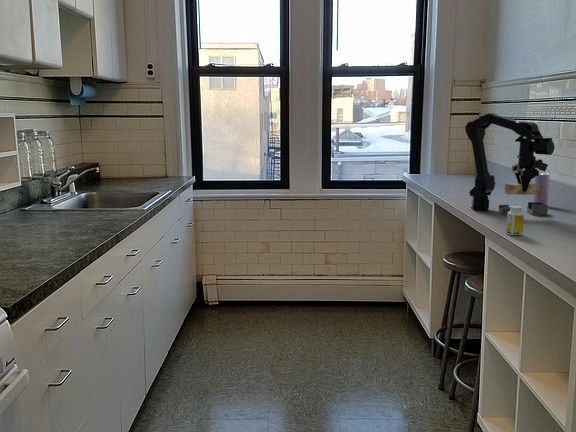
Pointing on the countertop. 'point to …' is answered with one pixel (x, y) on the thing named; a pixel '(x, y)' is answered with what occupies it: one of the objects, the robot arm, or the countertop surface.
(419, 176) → the countertop surface
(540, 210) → the bracket
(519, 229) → the supplement bottle
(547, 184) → the beverage can
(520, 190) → the rail
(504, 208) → the dark grey arch block
